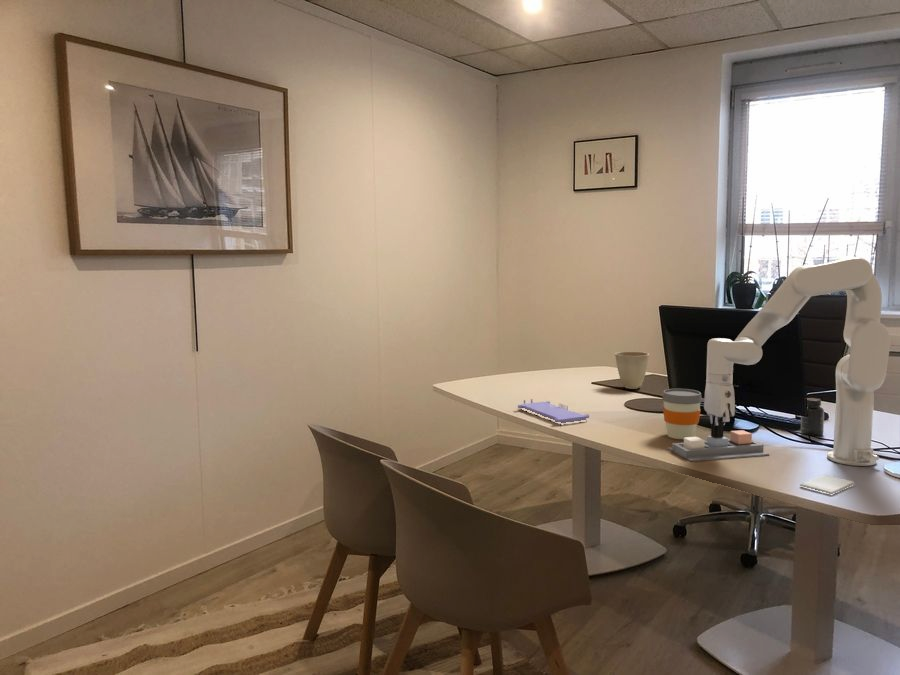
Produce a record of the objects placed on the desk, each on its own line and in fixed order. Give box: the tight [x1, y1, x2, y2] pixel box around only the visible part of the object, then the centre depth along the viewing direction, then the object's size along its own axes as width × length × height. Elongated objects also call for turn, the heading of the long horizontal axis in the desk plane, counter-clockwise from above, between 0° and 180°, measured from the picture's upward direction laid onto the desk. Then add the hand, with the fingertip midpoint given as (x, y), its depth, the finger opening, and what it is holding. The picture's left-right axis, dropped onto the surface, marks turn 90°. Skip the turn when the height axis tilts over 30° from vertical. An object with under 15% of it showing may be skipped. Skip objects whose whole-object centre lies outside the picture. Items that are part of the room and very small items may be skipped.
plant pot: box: [614, 351, 650, 387], centre depth 314 cm, size 15×15×16 cm
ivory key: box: [683, 436, 706, 449], centre depth 213 cm, size 4×4×3 cm
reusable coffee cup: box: [662, 388, 702, 440], centre depth 233 cm, size 13×13×15 cm
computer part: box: [517, 398, 590, 423], centre depth 266 cm, size 30×4×15 cm
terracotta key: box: [729, 429, 753, 444], centre depth 216 cm, size 4×4×3 cm
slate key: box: [706, 435, 729, 447], centre depth 214 cm, size 4×4×3 cm
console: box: [666, 438, 770, 462], centre depth 215 cm, size 14×26×2 cm, turn 101°
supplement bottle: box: [800, 397, 825, 437], centre depth 233 cm, size 7×7×12 cm
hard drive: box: [799, 474, 855, 494], centre depth 183 cm, size 2×8×12 cm
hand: (717, 436), depth 214 cm, fingers closed
